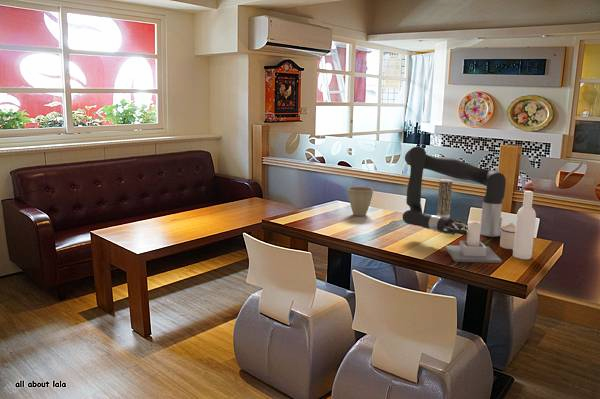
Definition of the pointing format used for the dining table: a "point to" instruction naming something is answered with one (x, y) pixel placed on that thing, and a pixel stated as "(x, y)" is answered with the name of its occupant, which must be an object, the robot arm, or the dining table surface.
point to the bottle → (524, 228)
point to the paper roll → (473, 233)
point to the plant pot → (360, 199)
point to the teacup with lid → (507, 236)
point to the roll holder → (472, 253)
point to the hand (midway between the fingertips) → (471, 231)
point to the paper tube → (444, 198)
